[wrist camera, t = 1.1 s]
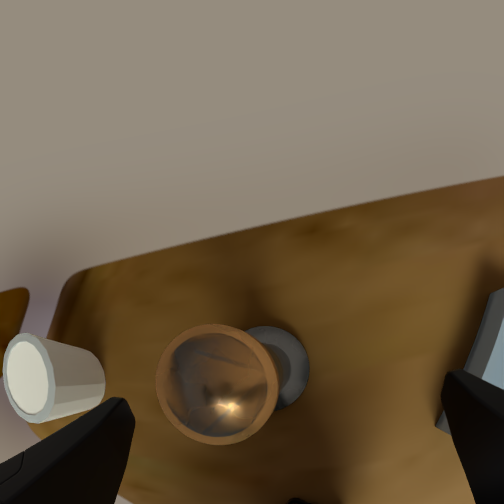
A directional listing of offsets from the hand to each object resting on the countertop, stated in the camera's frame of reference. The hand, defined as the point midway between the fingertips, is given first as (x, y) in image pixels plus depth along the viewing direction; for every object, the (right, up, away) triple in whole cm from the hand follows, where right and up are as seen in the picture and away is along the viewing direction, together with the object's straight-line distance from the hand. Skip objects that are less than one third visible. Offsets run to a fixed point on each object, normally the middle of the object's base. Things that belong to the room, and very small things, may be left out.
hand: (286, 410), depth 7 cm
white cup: (-16, -7, +16) cm, 24 cm away
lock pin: (0, -4, +14) cm, 15 cm away
